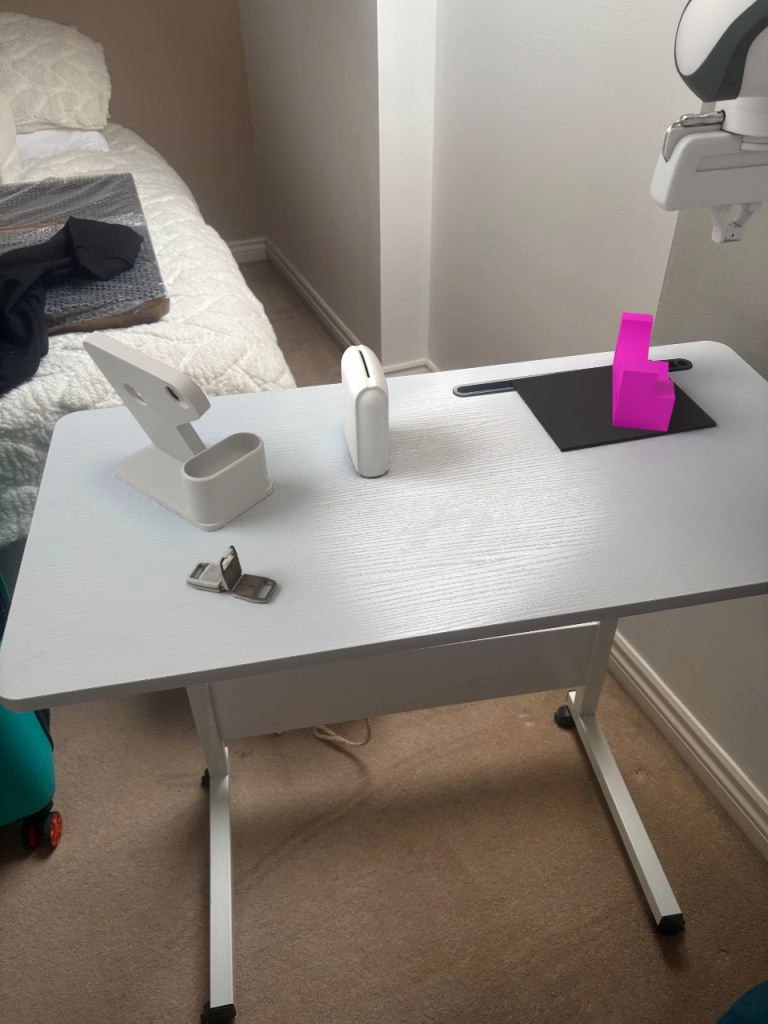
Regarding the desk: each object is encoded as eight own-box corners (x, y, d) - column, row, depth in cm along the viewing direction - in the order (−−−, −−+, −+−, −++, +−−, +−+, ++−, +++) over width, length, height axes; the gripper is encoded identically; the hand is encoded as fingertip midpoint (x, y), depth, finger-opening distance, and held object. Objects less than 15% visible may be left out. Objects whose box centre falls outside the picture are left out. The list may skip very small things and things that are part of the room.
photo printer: (341, 430, 100) (336, 336, 92) (376, 426, 100) (374, 333, 92) (355, 481, 92) (351, 384, 84) (393, 476, 92) (392, 379, 85)
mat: (650, 362, 112) (650, 359, 111) (715, 426, 100) (716, 422, 99) (510, 383, 108) (510, 379, 107) (561, 452, 96) (562, 448, 95)
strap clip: (184, 586, 79) (176, 553, 77) (199, 565, 82) (192, 533, 79) (266, 605, 77) (261, 573, 74) (279, 584, 79) (274, 551, 77)
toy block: (666, 431, 98) (680, 375, 93) (612, 425, 99) (623, 370, 94) (661, 368, 109) (673, 316, 104) (612, 364, 110) (622, 311, 105)
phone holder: (281, 489, 91) (264, 341, 79) (211, 537, 85) (182, 384, 73) (178, 433, 99) (149, 292, 88) (107, 473, 93) (67, 327, 82)
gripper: (685, 124, 80) (656, 261, 89) (867, 108, 84) (821, 241, 93) (653, 107, 85) (628, 239, 94) (826, 93, 89) (787, 221, 98)
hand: (726, 240), depth 93 cm, fingers closed
